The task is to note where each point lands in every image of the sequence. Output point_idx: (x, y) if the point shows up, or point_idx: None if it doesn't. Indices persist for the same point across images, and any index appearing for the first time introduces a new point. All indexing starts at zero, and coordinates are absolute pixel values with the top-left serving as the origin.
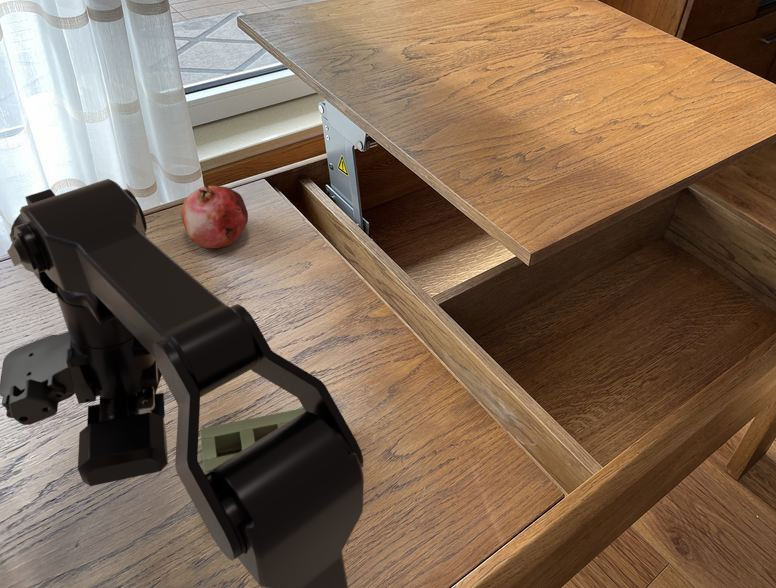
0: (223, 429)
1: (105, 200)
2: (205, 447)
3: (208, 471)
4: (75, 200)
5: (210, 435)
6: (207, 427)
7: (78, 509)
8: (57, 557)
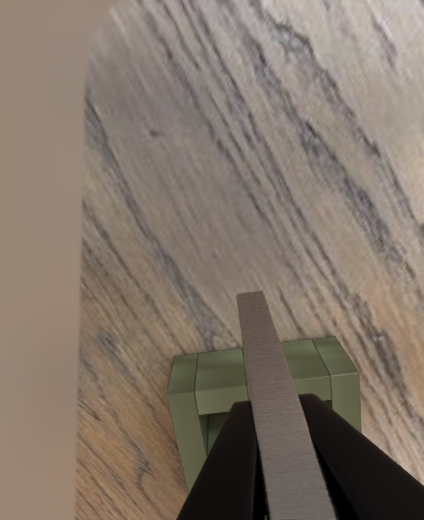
0: (346, 415)
1: None
2: (306, 385)
3: (246, 394)
4: None
5: (336, 392)
6: (358, 387)
7: (232, 120)
8: (130, 99)
